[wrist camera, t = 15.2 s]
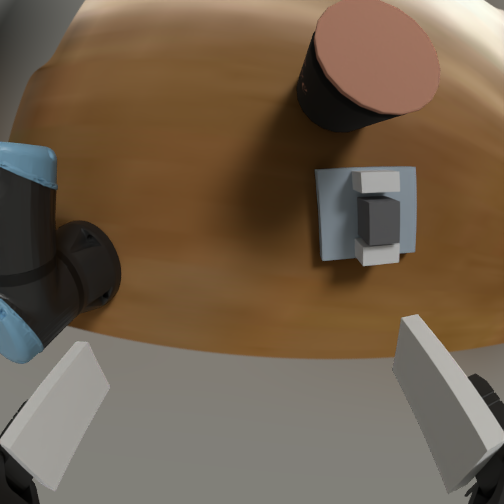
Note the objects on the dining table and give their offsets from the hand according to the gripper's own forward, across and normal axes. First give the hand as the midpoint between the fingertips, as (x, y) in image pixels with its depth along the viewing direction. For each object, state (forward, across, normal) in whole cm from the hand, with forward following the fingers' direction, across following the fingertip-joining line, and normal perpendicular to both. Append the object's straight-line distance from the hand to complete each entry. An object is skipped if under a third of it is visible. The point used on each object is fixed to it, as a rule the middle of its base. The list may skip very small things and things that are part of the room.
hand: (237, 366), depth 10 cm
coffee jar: (+29, +13, +15) cm, 35 cm away
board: (+29, +15, -1) cm, 33 cm away
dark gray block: (+27, +15, -1) cm, 31 cm away
